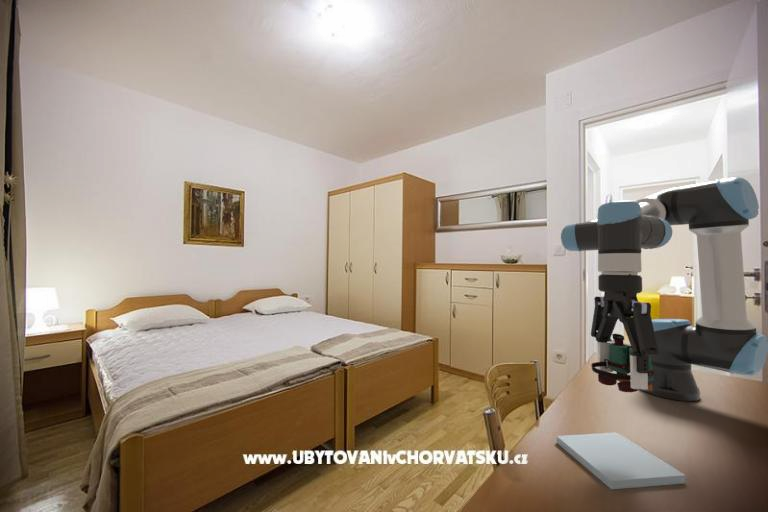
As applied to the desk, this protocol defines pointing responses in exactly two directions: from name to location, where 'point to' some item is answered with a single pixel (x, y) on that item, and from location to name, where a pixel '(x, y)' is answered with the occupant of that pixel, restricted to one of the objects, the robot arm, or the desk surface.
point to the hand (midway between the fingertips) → (621, 379)
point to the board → (619, 461)
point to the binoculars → (619, 366)
